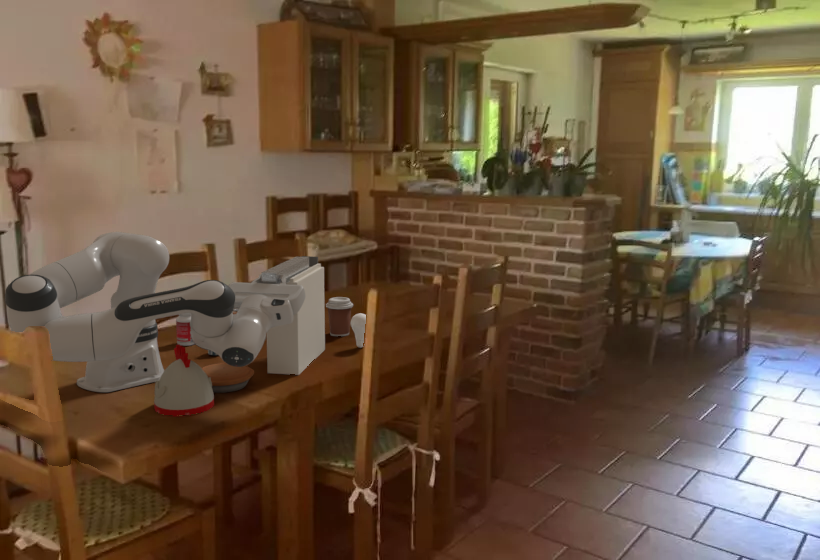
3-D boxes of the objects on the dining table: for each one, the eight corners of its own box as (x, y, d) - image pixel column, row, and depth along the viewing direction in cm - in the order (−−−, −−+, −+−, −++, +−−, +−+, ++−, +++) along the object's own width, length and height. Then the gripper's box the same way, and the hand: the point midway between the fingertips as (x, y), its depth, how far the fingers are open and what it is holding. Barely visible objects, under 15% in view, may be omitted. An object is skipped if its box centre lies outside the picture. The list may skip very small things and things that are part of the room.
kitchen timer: (201, 392, 189) (198, 335, 186) (223, 408, 178) (221, 348, 175) (146, 403, 180) (142, 344, 178) (166, 421, 170) (163, 358, 167)
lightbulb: (365, 351, 228) (365, 316, 226) (347, 349, 230) (347, 314, 228) (373, 346, 234) (373, 312, 232) (355, 344, 235) (355, 310, 233)
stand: (298, 375, 204) (296, 271, 199) (267, 373, 205) (264, 270, 200) (325, 349, 230) (324, 256, 224) (297, 347, 231) (296, 255, 226)
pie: (221, 400, 184) (220, 380, 183) (181, 387, 193) (180, 369, 192) (266, 384, 196) (266, 366, 195) (227, 373, 205) (226, 356, 204)
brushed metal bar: (276, 288, 191) (276, 273, 190) (261, 287, 191) (261, 272, 191) (309, 270, 218) (309, 257, 217) (296, 269, 219) (295, 256, 218)
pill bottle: (192, 346, 231) (191, 312, 229) (174, 345, 232) (172, 311, 230) (200, 341, 237) (198, 307, 235) (181, 340, 238) (180, 307, 236)
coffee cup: (325, 337, 243) (324, 302, 241) (327, 330, 252) (326, 296, 250) (352, 337, 244) (352, 302, 241) (353, 330, 253) (353, 296, 250)
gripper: (220, 319, 187) (238, 284, 198) (298, 323, 184) (312, 287, 194) (214, 300, 183) (233, 265, 194) (293, 304, 180) (308, 268, 190)
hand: (273, 276), depth 194 cm, fingers closed on brushed metal bar, 4 cm apart
